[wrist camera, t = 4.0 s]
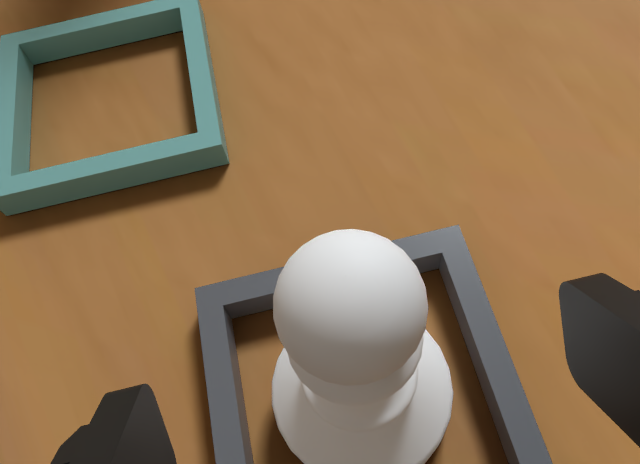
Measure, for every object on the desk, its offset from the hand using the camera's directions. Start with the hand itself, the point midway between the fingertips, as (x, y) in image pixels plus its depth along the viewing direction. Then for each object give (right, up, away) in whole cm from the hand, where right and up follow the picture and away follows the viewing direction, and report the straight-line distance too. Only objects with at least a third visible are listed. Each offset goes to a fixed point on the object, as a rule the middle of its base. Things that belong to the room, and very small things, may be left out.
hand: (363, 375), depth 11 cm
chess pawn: (0, -2, +6) cm, 7 cm away
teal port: (-9, +8, +13) cm, 18 cm away
